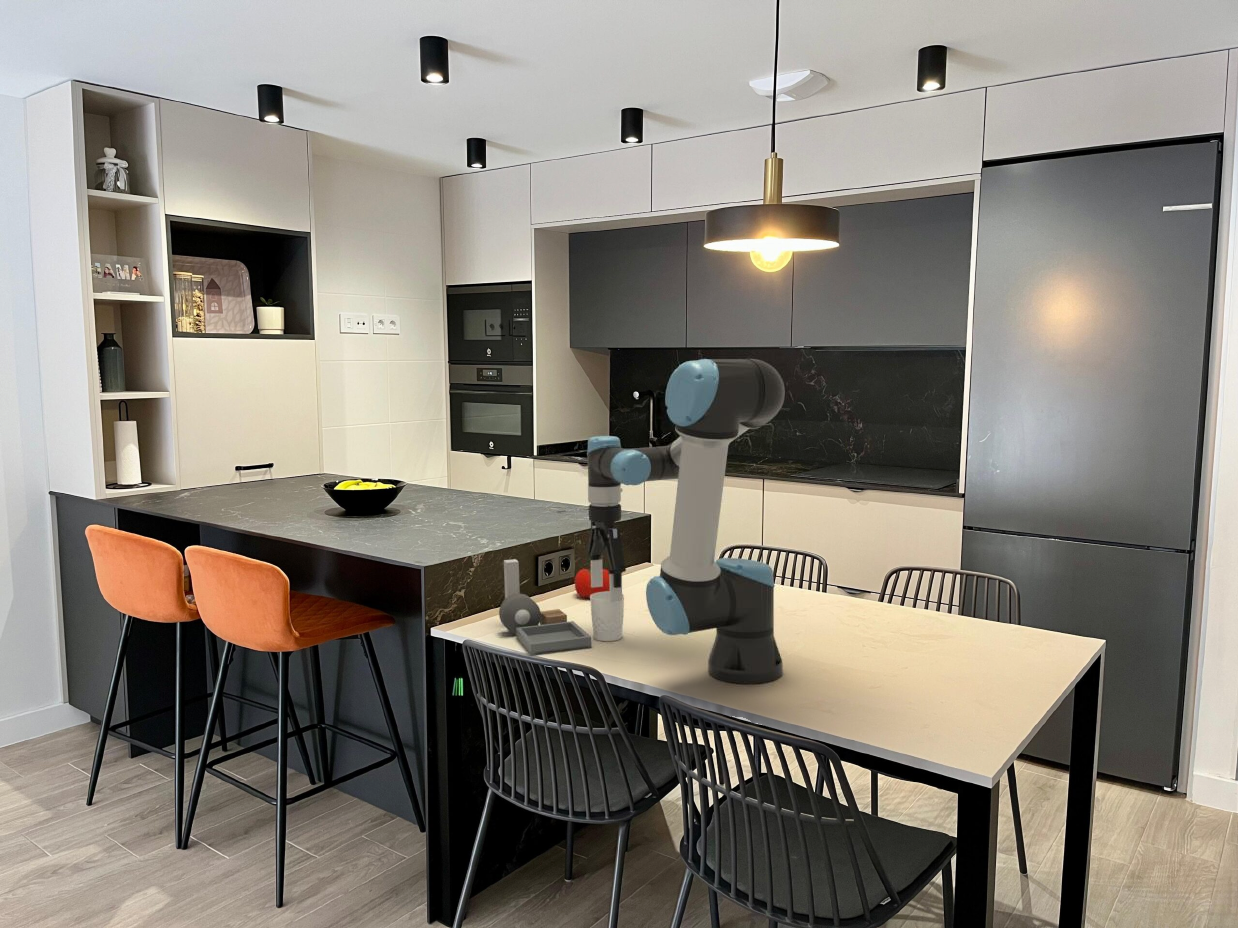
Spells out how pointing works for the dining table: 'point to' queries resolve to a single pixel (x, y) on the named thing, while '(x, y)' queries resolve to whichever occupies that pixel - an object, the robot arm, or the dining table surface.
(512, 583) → the trolley wheel
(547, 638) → the tray
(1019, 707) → the dining table surface
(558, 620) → the brown wooden block
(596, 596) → the white cup
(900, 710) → the dining table surface
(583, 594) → the tomato
